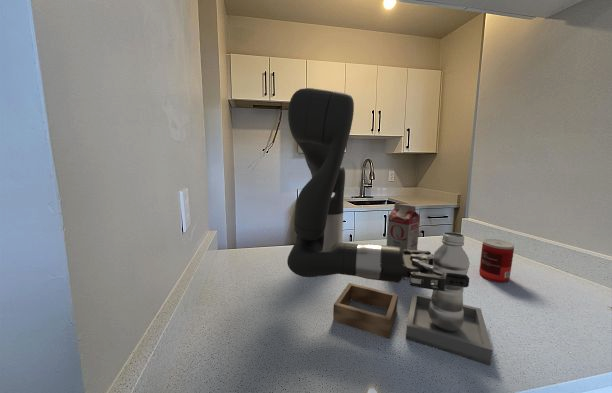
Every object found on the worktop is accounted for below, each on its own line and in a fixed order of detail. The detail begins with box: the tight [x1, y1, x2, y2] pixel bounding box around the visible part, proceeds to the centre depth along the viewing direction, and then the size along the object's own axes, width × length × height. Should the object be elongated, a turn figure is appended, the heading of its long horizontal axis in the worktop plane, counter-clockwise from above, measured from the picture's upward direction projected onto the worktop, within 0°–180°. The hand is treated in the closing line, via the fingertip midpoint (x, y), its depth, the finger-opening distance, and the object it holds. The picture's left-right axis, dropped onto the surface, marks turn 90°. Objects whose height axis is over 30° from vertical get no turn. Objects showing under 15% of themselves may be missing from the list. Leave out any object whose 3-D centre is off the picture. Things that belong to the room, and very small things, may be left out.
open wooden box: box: [332, 282, 399, 340], centre depth 59 cm, size 12×11×4 cm
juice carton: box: [386, 202, 421, 281], centre depth 79 cm, size 7×7×22 cm
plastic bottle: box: [428, 231, 471, 331], centre depth 53 cm, size 6×7×20 cm
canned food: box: [479, 238, 515, 283], centre depth 78 cm, size 8×8×11 cm
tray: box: [405, 292, 493, 366], centre depth 54 cm, size 14×14×3 cm
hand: (461, 271), depth 52 cm, fingers open, 8 cm apart
